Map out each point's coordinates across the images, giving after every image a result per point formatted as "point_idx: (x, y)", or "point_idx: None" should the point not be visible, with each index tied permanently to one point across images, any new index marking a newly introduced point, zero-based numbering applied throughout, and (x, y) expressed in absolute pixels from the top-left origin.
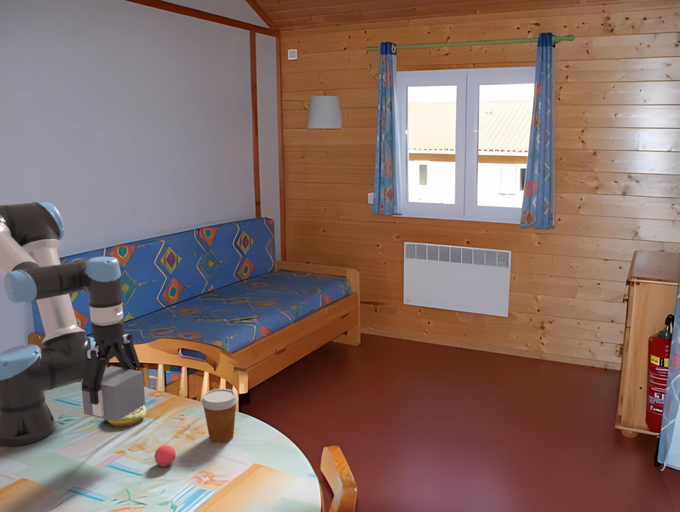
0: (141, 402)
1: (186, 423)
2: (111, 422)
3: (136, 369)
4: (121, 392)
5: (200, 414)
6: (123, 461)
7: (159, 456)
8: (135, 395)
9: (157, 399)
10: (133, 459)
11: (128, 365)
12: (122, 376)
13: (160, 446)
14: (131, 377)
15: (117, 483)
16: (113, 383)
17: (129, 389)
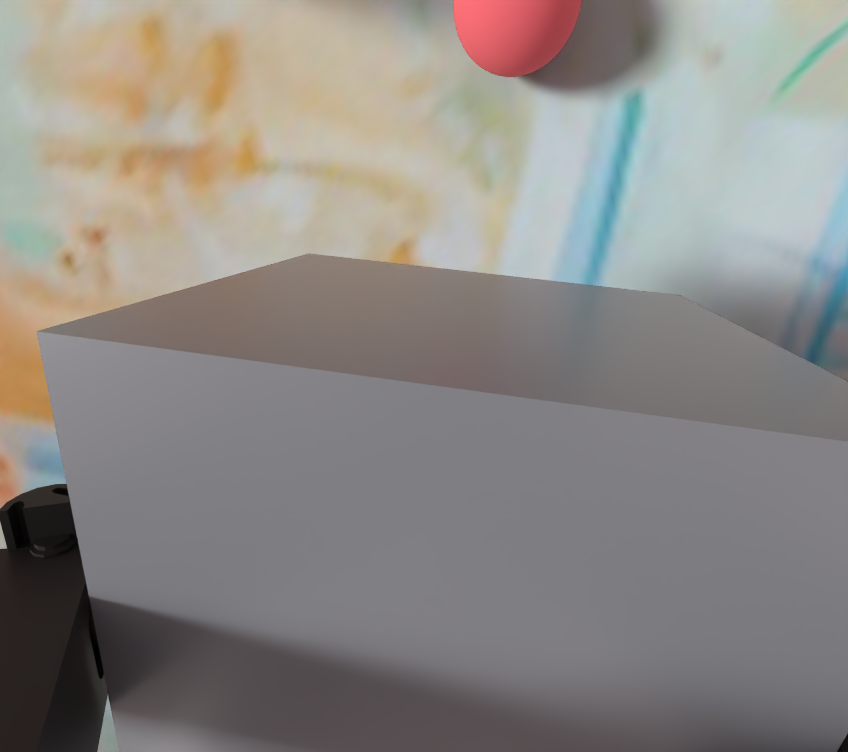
0: (343, 262)
1: (119, 188)
2: None
3: (13, 524)
4: (671, 356)
5: (16, 171)
6: (533, 274)
7: None
8: (396, 287)
9: (22, 449)
10: (505, 238)
11: (50, 681)
12: (397, 569)
13: (516, 19)
14: (387, 378)
15: (734, 174)
16: (792, 559)
17: (482, 329)
